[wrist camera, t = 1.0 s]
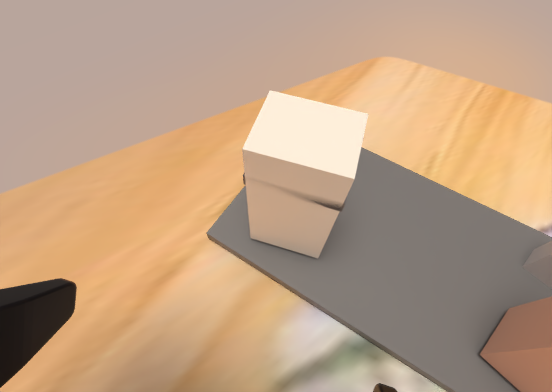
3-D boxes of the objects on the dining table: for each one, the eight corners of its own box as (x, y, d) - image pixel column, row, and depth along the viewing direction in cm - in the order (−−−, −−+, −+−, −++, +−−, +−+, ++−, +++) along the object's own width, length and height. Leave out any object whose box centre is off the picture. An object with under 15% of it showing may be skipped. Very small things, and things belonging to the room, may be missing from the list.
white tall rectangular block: (319, 258, 21) (356, 179, 13) (249, 237, 22) (240, 148, 13) (330, 211, 23) (370, 114, 15) (266, 192, 24) (268, 89, 15)
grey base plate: (598, 487, 17) (714, 525, 12) (208, 238, 23) (196, 207, 19) (609, 274, 23) (688, 251, 19) (299, 125, 30) (305, 83, 25)
